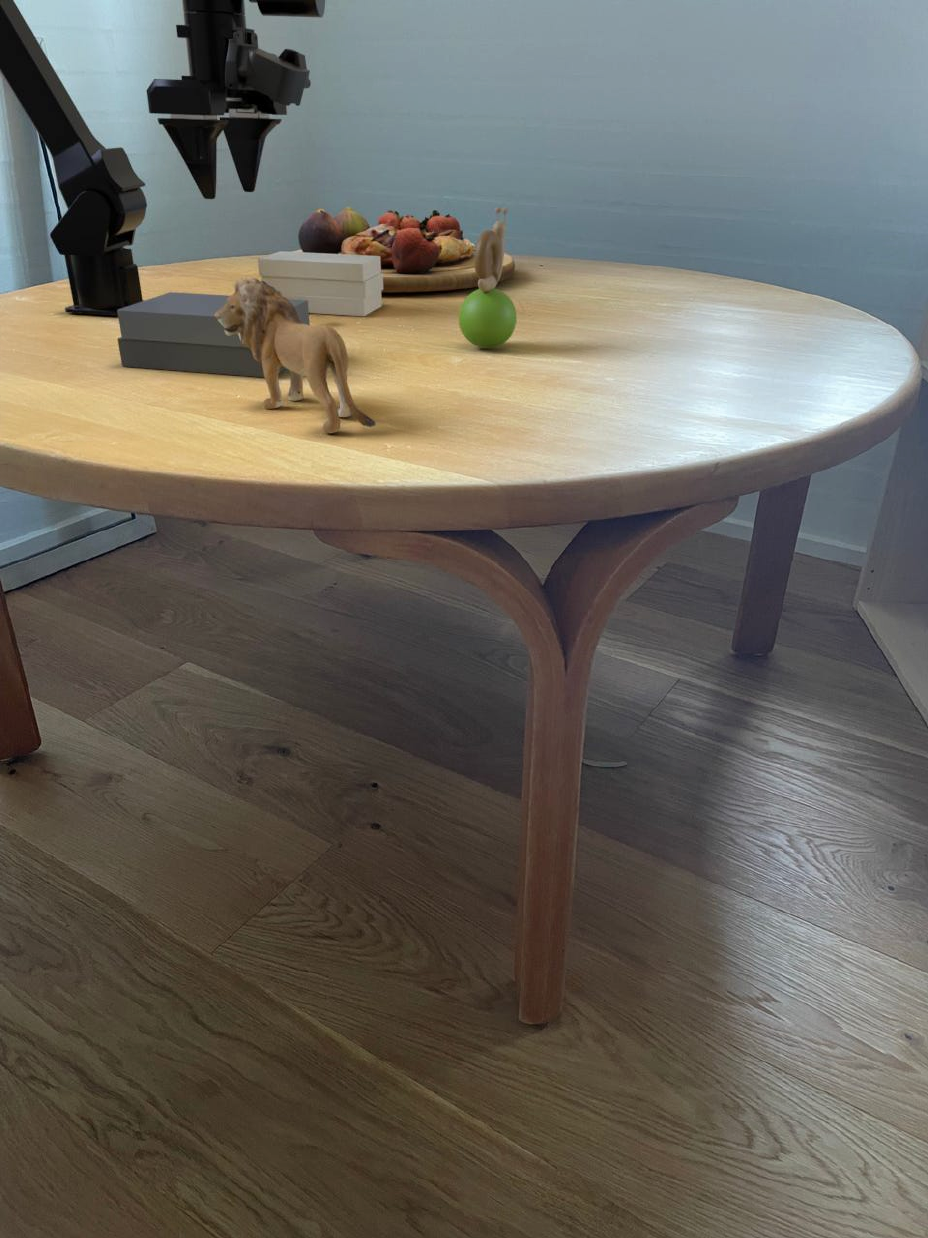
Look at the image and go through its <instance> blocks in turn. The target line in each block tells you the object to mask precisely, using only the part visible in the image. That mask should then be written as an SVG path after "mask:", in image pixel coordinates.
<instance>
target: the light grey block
mask: <svg viewBox="0 0 928 1238" xmlns="http://www.w3.org/2000/svg"><path fill="white" fill-rule="evenodd" d="M260 277H261V281H264V282H266V284H268V285H269V286H272V287H274V288H275V289H276V290H277V291H280V292H281V293H282V296H283V297H285V298H287V299H293V300H308V310H309V314H317V315H331V316H332V315H333V316H334V315H335V316H349V317H366V316H368V315H369V314H371V313H373V312H374V311H376V310H378V309H380V308H382V306H383V304H382V303H383V302H382V292H381V291H382V290H383V273H380V274H378V275H376V276H374V277H371V278H369V279H367V280H365V281H363V282H361V281H343V280H325V279H306V278H288V277H269V276H260Z"/></svg>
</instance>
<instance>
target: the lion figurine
mask: <svg viewBox="0 0 928 1238" xmlns="http://www.w3.org/2000/svg"><path fill="white" fill-rule="evenodd" d="M232 286H233V288H234V292H233V293H232V294H231V295H229V296H230V297H229V298H228V300H227V303H226V304H225V305H224V306H223V307H222V308H221V309H219V310H218V311H217V312H216V313H215V317H216V318H217V319H218V321H219V322H220V323H221V324H222V325H223V326H224V330H225V333H226V335H228V336H231V335H234V334H236V333H238V335H239V338H240V340H241V342H242V344H243V345H245V346H246V347H248V348H249V349H251V351H252V353H253V356H254V359H255V360H257V361H258V362H261V363H262V367H263V372H264V377H265V378H264V377H263V378H264V380H265V383H266V385H267V388H268V392H269V398H266V399H264V400H263V402H262V406H263V408H264V409H267V410H270V409H277V408H280V407H282V404H283V397H282V396H283V395H282V390H281V387H280V380H279V374H280V373H279V370H280V367H285V368H287V369H286V370H288V373H289V381H290V384H289V389H288V393H287V395H286V397H287V400H288V401H292V402H295V401H296V402H297V401H301V400H303V399H304V386H303V384H304V383H303V376H304V377H305V376H306V378H307V382H308V384H309V387H310V389H311V391H312V393H313V395H314V396H315V398H316V399H317V401H318V402H319V404H320V405H321V406H322V408H323V410H324V412H325V413H326V415H327V420H326V421H325V422H324V423H323V424H322V431H323V432H324V433H325V434H334V433H337V432H338V431H340V429H341V419H340V418H348V417H351V416H352V414H353V416H354V417H355V418H356V420H357V421H358V422H359V423H360V424H361V425H362V426H363V427H369V428H374V427H375V426H376V421H375V420H373V418H371V417H369V416H368V415H366V414H365V413H363V412H362V411H361V410H359V408H358V407H357V406H356V403H355V402H354V400H353V397H352V393H351V391H350V387H349V384H348V367H349V355H348V349H347V347H346V344H345V341H344V339H343V337H342V336H341V335H340V333H339V332H338V331H337V330H336V329H335V328H334V327H332V326H328V325H323V324H318V325H310V326H309V325H307V324H304V323H302V322H301V321H300V320H299V318H298V314H297V312H296V310H295V308H294V307H293V305H292V304H291V302H290V301H289V300H288V299H287V298H285V297H283V296H282V293H281V292H280V291H277V290H276V289H275V288H274V287H272V286H269V285H268V284H266V282H264V281H262V280H259V279H258V278H254V277H243V278H241V279H237V280H235V281H234V283H233V285H232ZM328 369H329V370H330V373H331V376H332V378H333V381H334V383H335V386H336V388H337V391H338V401H339V406H338V407H337V403H336V401H335V399H334V397H333V396H332V394H331V392H330V390H329V386H328V382H327V375H328ZM278 373H279V374H278Z"/></svg>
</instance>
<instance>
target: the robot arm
mask: <svg viewBox="0 0 928 1238" xmlns="http://www.w3.org/2000/svg"><path fill="white" fill-rule="evenodd" d="M181 1H182V2H181V3H182V11H183V22H184V24H175V28H176V37H177V38H179V39H185V42H186V49H187V50H186V52H187V63H188V72H189V75H181V79H173V78H172V79H170V78H169V79H167V78H154V79H153V80H152V81H151V83H150V84H149V86H148V87H147V89H146V97H147V98H146V99H147V106H148V113H149V114H155V115H156V114H157V115H158V114H159V115H170V117H157V122H158V124H159V125H162V126H163V128H164V129H165V131H166V133H167V134H168V136H169V138H170V139H171V141H172V143H173V145H174V146H175V148H176V150H177V152H178V153H179V154H180V156H181V159H182V160H183V162H184V164H185V165H186V168H187V169H188V171H189V173H190V175H191V177H192V179H193V180H194V182H195V184H196V186H197V189H198V190H199V192H200V194H201V195H202V198H204V199H205V200H215V199H216V197H217V167H218V166H217V163H218V161H217V157H218V154H217V152H218V151H217V148H218V147H217V146H218V145H217V144H218V139H219V136H220V135H221V134H222V132H223V134H224V137H225V140H226V143H227V146H228V149H229V152H230V155H231V158H232V161H233V165H234V168H235V170H236V173H237V177H238V180H239V183H240V184H241V188H242V190H243V192H244V193H253V192H255V191H256V187H257V186H256V185H257V181H258V176H259V170H260V165H261V160H262V155H263V150H264V146H265V142H266V138H267V136H268V135H269V134H270V133H271V131H273V130H274V129H275V128H276V126H278V125H280V124H281V123H282V120H283V119H282V118H270V115H273V116H275V115H276V116H286V115H288V109H287V107H289V106H291V104H292V105H293V104H295V106H296V107H299V106H301V103H302V98H303V94H304V91H305V89H309V88H310V87H311V84H312V83H311V79H310V74H311V73H310V72H311V70H309V69H308V68H307V60H306V55H305V54H303V53H301V52H299V51H298V50H295V49H291V48H285V49H283V51H281V53H280V55H279V56H278V55H277V54H275V53H272V52H271V53H270V52H268V51H266V50H263V49H262V48H260V47H259V37H258V34H257V33H256V32H255V29H254V28H253V29H252V28H247V19H246V18H247V17H246V6H245V5H246V4H245V0H181ZM248 2H249V3H251V4H257V7H258V10H259V13H260V14H261V16H263V17H290V18H292V17H293V18H321V19H322V18H323V17H324V14H325V9H326V0H248ZM0 73H1V74H2V76H3V77H4V79H5V81H6V82H7V85H9V88H10V90H11V91H12V93H13V95H15V97H16V99H17V100H18V102H19V104H20V106H21V107H22V109H23V110H24V112H25V113H26V115H27V117H28V119H29V120H30V122H31V124H32V125H33V127H34V128H35V130H36V131H37V133H38V135H39V137H40V138H41V140H42V141H43V143H44V144H45V146H46V148H47V150H48V152H49V153H50V155H51V158H52V162H53V168H54V173H55V177H56V182H57V187H58V190H59V192H60V194H61V196H62V199H63V201H64V203H65V206H66V208H67V210H66V212H65V213H64V214H63V216H61V218H60V220H59V221H58V222H57V224H56V225H55V226H54V228H53V229H52V230H51V232H50V234H49V236H50V239H51V241H52V243H53V245H54V247H55V248H56V250H57V252H58V254H59V255H61V256H64V262H65V266H66V273H67V278H68V283H69V288H70V293H71V297H72V298H71V299H72V303H73V304H72V305H70V306H69V305H68V306H66V307H64V310H65V313H70V314H83V315H84V314H85V315H97V316H98V315H100V316H113V317H115V316H118V313H117V310H118V309H121V308H124V307H127V306H130V305H133V304H136V303H139V302H142V301H144V300H143V293H142V285H141V280H140V273H139V267H138V264H137V263H134V256H133V250H132V248H125V247H127V246H133V245H134V242H135V235H136V230H137V228H138V227H139V226H141V225H142V223H143V221H144V220H145V217H146V213H147V207H148V204H147V203H148V202H147V198H146V195H145V193H144V191H143V189H142V188H143V187H145V186H146V183H145V182H144V181H143V179H141V178H140V177H139V176H138V175H137V173H136V171H135V170H134V168H133V166H132V164H131V161H130V159H129V156H128V154H127V152H126V151H125V149H124V148H123V147H120V146H119V147H109V148H106V147H105V146H104V145H103V144H102V143H101V142H100V141H99V140H98V139H96V137H95V136H94V135H93V133H92V131H91V130H90V128H89V126H88V125H87V123H86V121H85V120H84V118H83V116H82V115H81V113H80V111H79V110H78V108H77V106H76V104H75V103H74V101H73V99H72V98H71V95H70V94H69V93H68V90H67V89H66V87H65V85H64V84H63V83H62V81H61V79H60V77H59V75H58V73H57V72H56V70H55V69H54V67H53V65H52V63H51V62H50V60H49V59H48V56H47V55H46V53H45V51H44V50H43V47H42V46H41V45H40V43H39V41H38V39H37V38H36V36H35V35H34V33H33V31H32V29H31V28H30V26H29V24H28V22H27V21H26V19H25V17H24V16H23V14H22V12H21V10H20V9H19V7H18V6H17V4H16V2H15V0H0ZM225 114H228V116H225ZM218 116H220V117H219V119H218Z"/></svg>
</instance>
